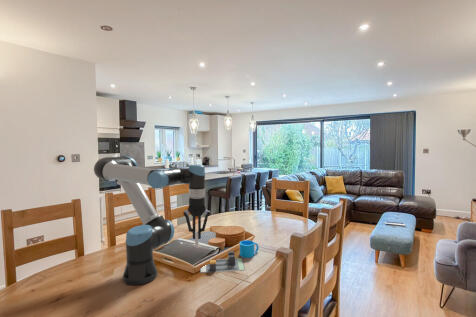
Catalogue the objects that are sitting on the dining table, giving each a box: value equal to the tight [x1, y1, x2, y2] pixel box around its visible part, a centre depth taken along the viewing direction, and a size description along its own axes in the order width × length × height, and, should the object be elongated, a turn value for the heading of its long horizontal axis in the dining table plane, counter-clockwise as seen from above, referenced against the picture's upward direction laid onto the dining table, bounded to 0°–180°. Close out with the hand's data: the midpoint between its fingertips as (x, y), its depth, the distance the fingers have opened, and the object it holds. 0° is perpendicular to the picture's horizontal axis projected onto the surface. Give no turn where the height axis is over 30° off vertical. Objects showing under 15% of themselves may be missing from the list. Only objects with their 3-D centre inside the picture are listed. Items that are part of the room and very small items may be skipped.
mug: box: [239, 239, 260, 259], centre depth 148 cm, size 12×8×8 cm
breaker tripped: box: [209, 259, 216, 271], centre depth 128 cm, size 3×2×4 cm
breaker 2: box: [229, 254, 236, 265], centre depth 135 cm, size 3×2×4 cm
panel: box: [199, 257, 246, 274], centre depth 134 cm, size 22×14×2 cm, turn 96°
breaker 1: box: [227, 250, 235, 260], centre depth 139 cm, size 3×2×4 cm
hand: (196, 245), depth 127 cm, fingers closed
